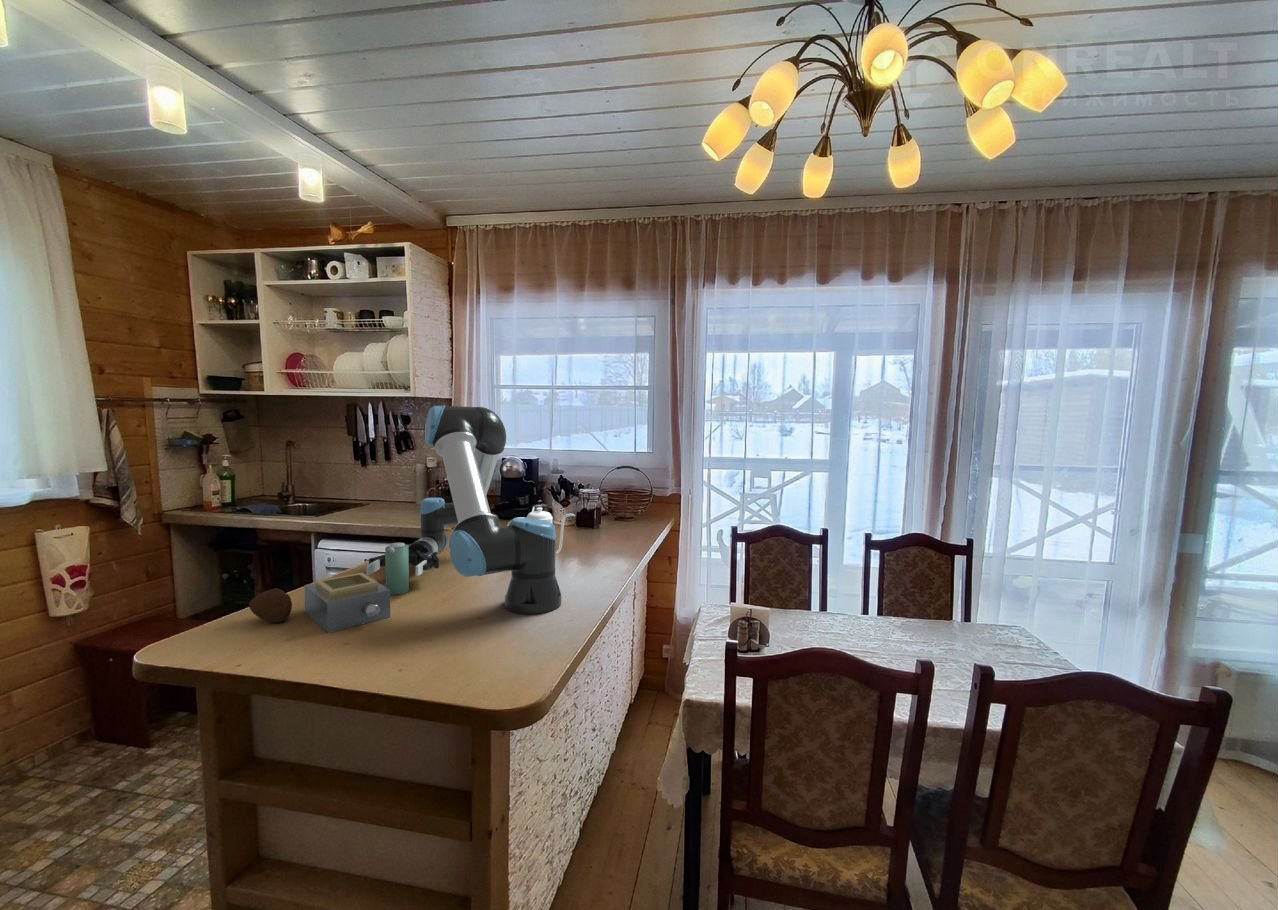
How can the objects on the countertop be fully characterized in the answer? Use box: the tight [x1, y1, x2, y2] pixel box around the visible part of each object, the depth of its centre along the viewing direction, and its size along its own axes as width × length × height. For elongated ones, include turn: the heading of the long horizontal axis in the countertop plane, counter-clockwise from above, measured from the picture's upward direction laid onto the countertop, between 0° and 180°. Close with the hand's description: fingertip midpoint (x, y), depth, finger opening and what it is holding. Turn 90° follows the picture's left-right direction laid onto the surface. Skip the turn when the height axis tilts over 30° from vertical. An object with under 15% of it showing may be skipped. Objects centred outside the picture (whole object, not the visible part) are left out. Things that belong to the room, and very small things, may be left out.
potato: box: [248, 587, 293, 624], centre depth 126 cm, size 7×10×8 cm
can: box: [384, 542, 410, 596], centre depth 148 cm, size 7×6×14 cm
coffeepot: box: [506, 507, 576, 554], centre depth 185 cm, size 11×25×19 cm, turn 84°
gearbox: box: [304, 572, 391, 633], centre depth 130 cm, size 21×14×8 cm, turn 47°
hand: (392, 570), depth 145 cm, fingers open, 13 cm apart
